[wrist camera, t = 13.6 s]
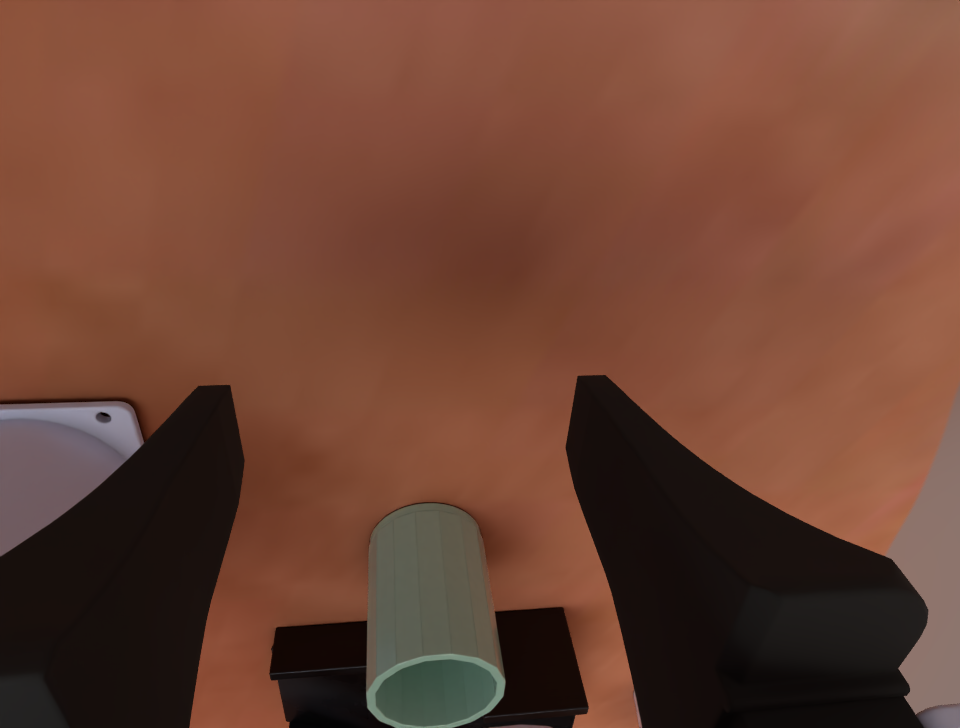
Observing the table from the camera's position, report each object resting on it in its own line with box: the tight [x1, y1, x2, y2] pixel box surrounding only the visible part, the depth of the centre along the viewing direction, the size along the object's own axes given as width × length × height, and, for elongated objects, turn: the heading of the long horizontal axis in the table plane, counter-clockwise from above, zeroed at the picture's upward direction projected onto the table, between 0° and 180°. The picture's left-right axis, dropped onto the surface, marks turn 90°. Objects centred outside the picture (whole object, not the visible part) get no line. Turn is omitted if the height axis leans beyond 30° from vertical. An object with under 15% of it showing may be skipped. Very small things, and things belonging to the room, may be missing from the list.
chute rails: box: [269, 608, 589, 728], centre depth 35 cm, size 15×8×6 cm, turn 87°
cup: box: [366, 503, 506, 728], centre depth 29 cm, size 5×5×8 cm
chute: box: [271, 644, 575, 728], centre depth 36 cm, size 15×7×5 cm, turn 87°
